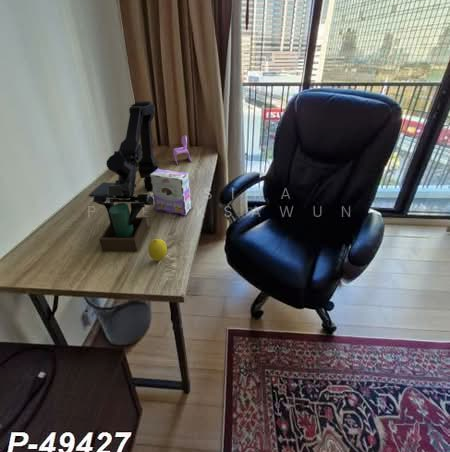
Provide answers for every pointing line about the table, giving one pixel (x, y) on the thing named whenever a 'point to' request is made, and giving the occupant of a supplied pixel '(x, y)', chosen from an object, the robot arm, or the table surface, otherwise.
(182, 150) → the toy chair
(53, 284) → the table surface
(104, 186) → the mat
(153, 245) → the lemon
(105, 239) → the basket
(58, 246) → the table surface
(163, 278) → the table surface
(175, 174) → the candy box
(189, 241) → the table surface
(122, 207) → the tea tin
